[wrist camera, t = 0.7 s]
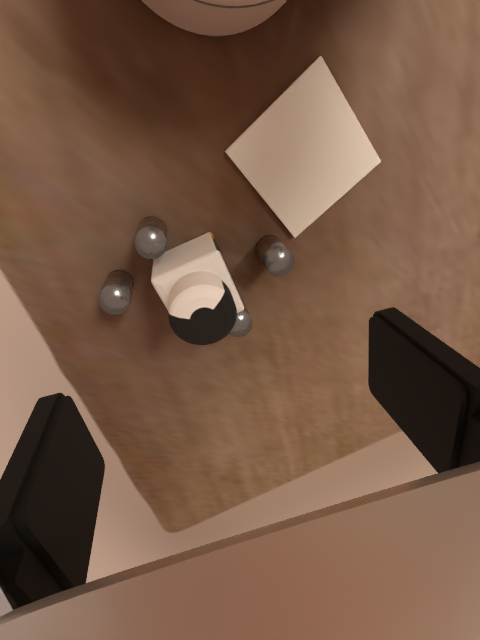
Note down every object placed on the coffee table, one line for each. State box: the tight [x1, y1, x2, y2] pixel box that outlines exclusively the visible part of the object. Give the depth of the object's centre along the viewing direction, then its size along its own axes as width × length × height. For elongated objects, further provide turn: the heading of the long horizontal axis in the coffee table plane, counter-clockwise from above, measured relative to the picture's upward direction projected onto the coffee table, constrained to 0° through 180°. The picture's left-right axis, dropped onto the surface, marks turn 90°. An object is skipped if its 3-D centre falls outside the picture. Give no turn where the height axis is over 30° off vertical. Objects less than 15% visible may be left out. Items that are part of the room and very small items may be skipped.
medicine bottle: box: [151, 232, 244, 345], centre depth 36 cm, size 7×7×12 cm
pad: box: [225, 56, 381, 238], centre depth 37 cm, size 12×12×1 cm
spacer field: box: [98, 216, 294, 337], centre depth 39 cm, size 18×16×5 cm
